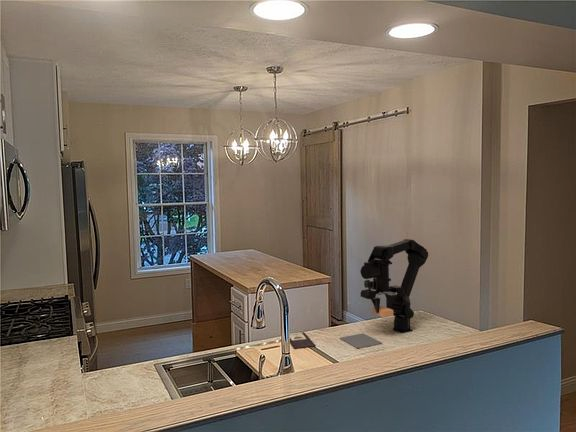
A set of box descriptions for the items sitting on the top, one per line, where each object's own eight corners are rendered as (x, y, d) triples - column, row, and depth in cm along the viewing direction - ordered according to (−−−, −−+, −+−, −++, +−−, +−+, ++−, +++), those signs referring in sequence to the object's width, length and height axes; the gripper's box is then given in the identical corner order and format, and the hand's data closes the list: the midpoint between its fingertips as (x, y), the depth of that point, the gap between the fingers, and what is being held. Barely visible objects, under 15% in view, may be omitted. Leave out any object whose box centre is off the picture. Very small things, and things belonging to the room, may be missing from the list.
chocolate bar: (294, 347, 180) (284, 334, 198) (294, 350, 180) (284, 336, 198) (315, 345, 182) (304, 332, 200) (315, 347, 182) (304, 334, 200)
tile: (382, 311, 196) (381, 305, 196) (393, 315, 189) (393, 310, 188) (372, 313, 194) (372, 307, 194) (383, 317, 186) (383, 311, 186)
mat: (363, 334, 196) (363, 333, 196) (382, 343, 183) (382, 342, 183) (339, 338, 191) (339, 337, 191) (357, 348, 178) (357, 347, 178)
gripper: (388, 270, 201) (389, 305, 202) (353, 275, 194) (353, 310, 195) (404, 274, 191) (405, 310, 192) (367, 279, 184) (368, 316, 185)
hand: (382, 312), depth 191 cm, fingers closed on tile, 5 cm apart
